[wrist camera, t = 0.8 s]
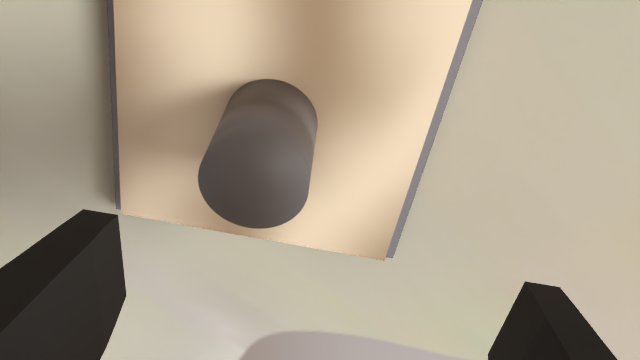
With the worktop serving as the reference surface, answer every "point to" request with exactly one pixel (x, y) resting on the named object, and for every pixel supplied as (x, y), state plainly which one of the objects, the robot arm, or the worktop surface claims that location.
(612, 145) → the worktop surface
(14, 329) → the robot arm
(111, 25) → the mat
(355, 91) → the lid
